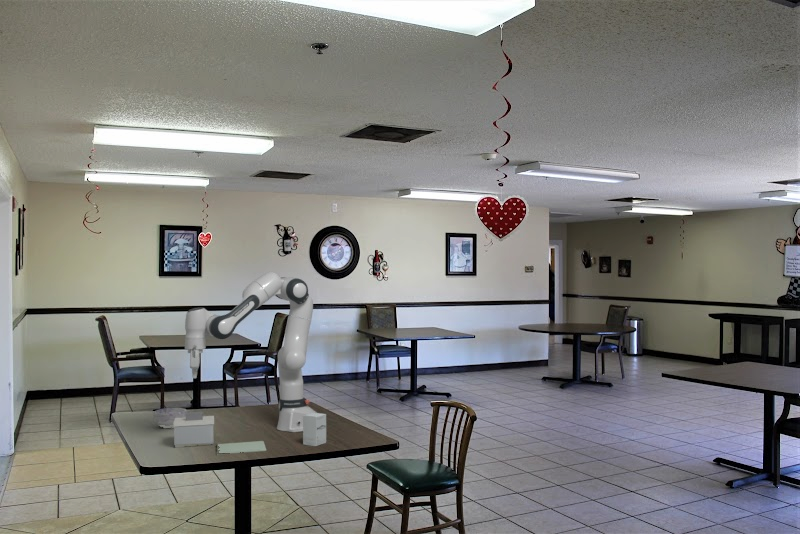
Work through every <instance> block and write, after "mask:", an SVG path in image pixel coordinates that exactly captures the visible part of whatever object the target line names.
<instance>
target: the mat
mask: <svg viewBox="0 0 800 534" xmlns="http://www.w3.org/2000/svg"><path fill="white" fill-rule="evenodd" d="M217 444H218V446H219V447H220V448H219V449H218V450H220V451H219V453H230V454H240V452H241V454H242V452H244V453H254V452H266V451H267V448H266V445H265V442H264V440H257V441H243V442H229V443H217Z"/></svg>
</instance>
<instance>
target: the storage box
mask: <svg viewBox="0 0 800 534" xmlns="http://www.w3.org/2000/svg"><path fill="white" fill-rule="evenodd" d="M173 430H174V434H173V438H174V440H173V441H174V442H173V443H174V444H173V445H176V444H215V443H214V441H215V440H214V424H208V425H192V426H176V427H174V428H173Z"/></svg>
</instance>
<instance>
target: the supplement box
mask: <svg viewBox="0 0 800 534" xmlns="http://www.w3.org/2000/svg"><path fill="white" fill-rule="evenodd" d="M326 443H327V413H322V412H321V413H320V412H317V413H311V414H307V415H303V431H302V445H304V446H305V445H306V446H309V447H317V446H321V445H324V444H326Z"/></svg>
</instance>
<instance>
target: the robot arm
mask: <svg viewBox="0 0 800 534" xmlns="http://www.w3.org/2000/svg"><path fill="white" fill-rule="evenodd" d="M309 295H310V294H309V287H308V284H307V283H306V281H304V280H303V279H302V278H297V277H293V276H292V277H291V276H289V277H285V276H284V277H280V275H279V274H278V273H276V272H274V271H269V272H266V273H264V274H263V275H261V276H259V277H257V278H256V279H254V281H252V282H250V283H249V284H248V285H247V286H246V287H245V289H244V290H243V291H242V300H241V301H240V303H238V304H237V305H236V306H235V307H234V308H233V309H231V310H230V311H229V312H228V313H225V314H223V315H219V314H216V313H213V312H211V311H209V310H207V309H206V308H205V307H194V308H191V309H188V310H187V312H186V314H185V320H184V321H185V322H184V324H185V325H184V326H185V327H184V328H185V329H184V330H185V335H184V349H185V350H187V354H189V355H190V356H189V368H190V369H191V374H192V377H191V378H192V379H197V378H198V377H197V376H198V370H199V367H200V363H201V358H202V353H204V352H203V351H204V350H205V349H207V348H206V347H207V336H210V337H213V338H216V339H218V340H225V339H228V338H230V337H231V336H232V334H234V331H235V329H236V328H237V326H238V325H239V324H240V323H242V321H244V320H245V319H246V318H247V317H248V316H249V315H250V314H251V313H253V312H254V311H255V310H256V309H258V308H259V307H261V306H262V305H264V304H265V303H267V302H268V301H269V300H271V299H272V298H273V297H274V296H275V297H276V298H278V299H280V300H284V301H289V308H290V310H289V312H288V316H287V321H286V326H285V330H284V344H283V346H282V347H281V348H280V349H279V351H278V352H277V366H278V370H277V371H278V378H279V379H278V380H279V399H278V410H279V411H278V412H279V414H278V416H279V417H278V422H277V426H276V430H278V431H282V432H290V433H298V432H303V415H307V414H311V413H318V412H317V411H316V410H314V409H313V408H312V407H310V406H309V404H310V399H308V398H305V397H304V379H303V372H302V368H304V366H305V364H306V360H307V351H308V338H309V333H310V328H311V322H312V319H313V312H314V301H313V298H312V297H311V296H309Z"/></svg>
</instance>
